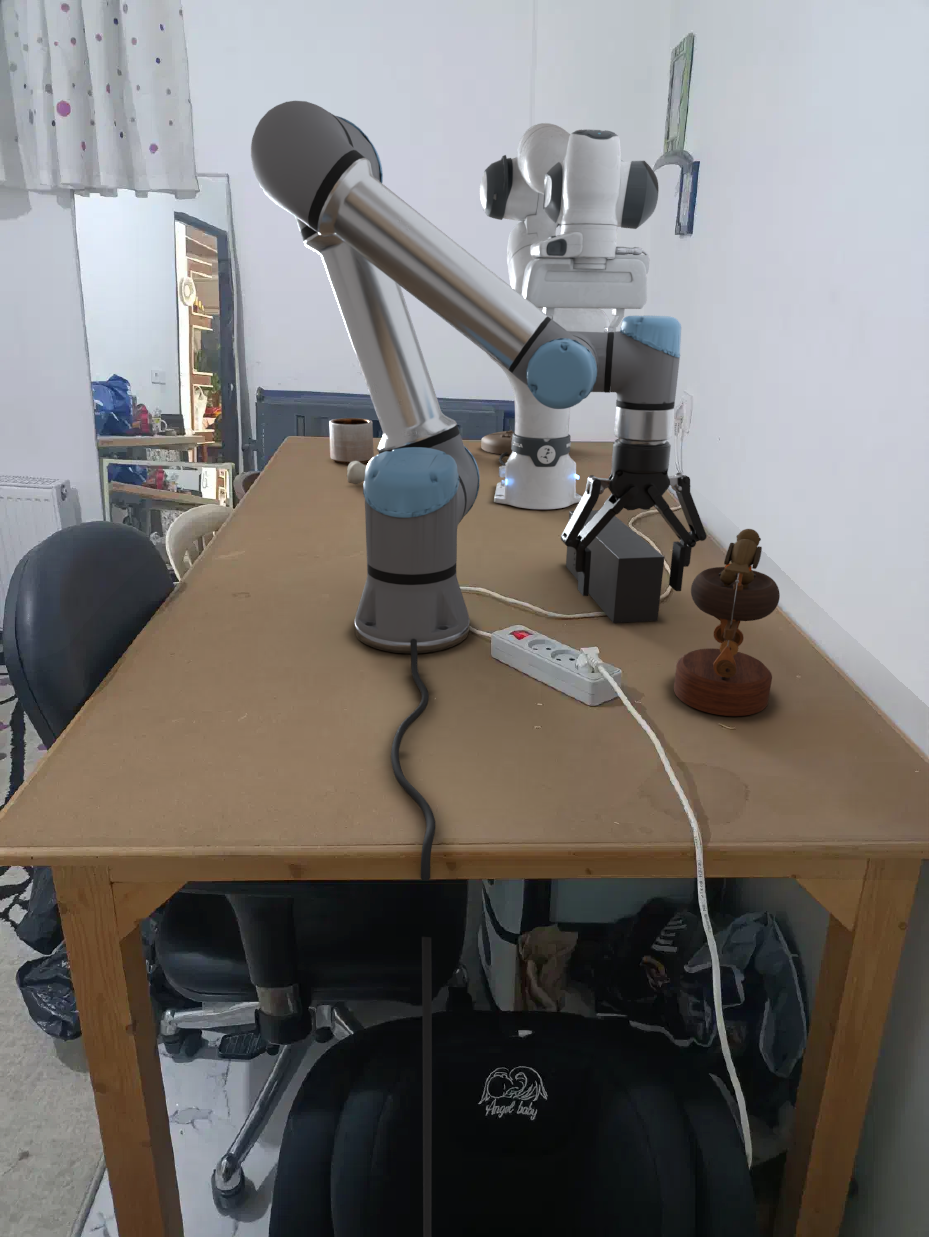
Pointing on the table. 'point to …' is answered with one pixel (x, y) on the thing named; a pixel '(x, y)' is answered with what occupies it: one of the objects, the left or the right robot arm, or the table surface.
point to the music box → (729, 635)
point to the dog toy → (356, 472)
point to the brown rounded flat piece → (498, 442)
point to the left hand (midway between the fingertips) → (629, 590)
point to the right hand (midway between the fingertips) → (581, 338)
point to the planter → (351, 440)
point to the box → (623, 573)
